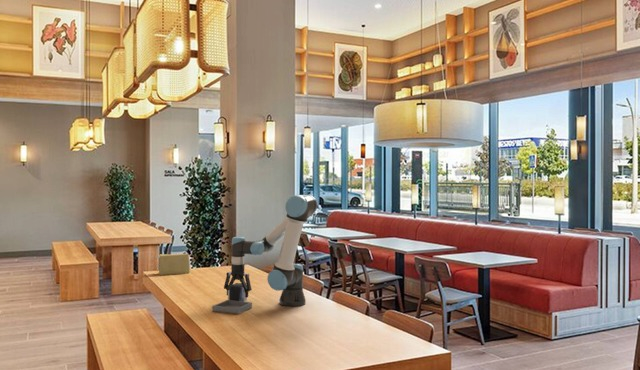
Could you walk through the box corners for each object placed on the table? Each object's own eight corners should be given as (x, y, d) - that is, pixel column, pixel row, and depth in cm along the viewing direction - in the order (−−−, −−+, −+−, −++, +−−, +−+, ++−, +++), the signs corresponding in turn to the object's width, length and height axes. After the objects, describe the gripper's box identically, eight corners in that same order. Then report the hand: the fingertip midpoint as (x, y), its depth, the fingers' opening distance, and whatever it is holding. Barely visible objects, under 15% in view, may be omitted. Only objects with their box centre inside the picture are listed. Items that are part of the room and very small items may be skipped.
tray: (251, 307, 288) (252, 302, 288) (237, 314, 274) (238, 308, 274) (227, 305, 294) (227, 299, 294) (212, 311, 279) (212, 305, 279)
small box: (239, 305, 295) (239, 286, 295) (228, 304, 296) (228, 285, 296) (245, 301, 305) (246, 283, 305) (235, 300, 307) (235, 282, 307)
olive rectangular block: (188, 272, 400) (189, 252, 400) (190, 274, 391) (190, 254, 390) (158, 273, 393) (159, 253, 393) (159, 275, 383) (159, 255, 383)
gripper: (258, 264, 300) (257, 302, 301) (224, 261, 308) (223, 299, 308) (252, 265, 293) (251, 305, 294) (217, 263, 301) (217, 301, 301)
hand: (237, 302), depth 301 cm, fingers open, 10 cm apart
